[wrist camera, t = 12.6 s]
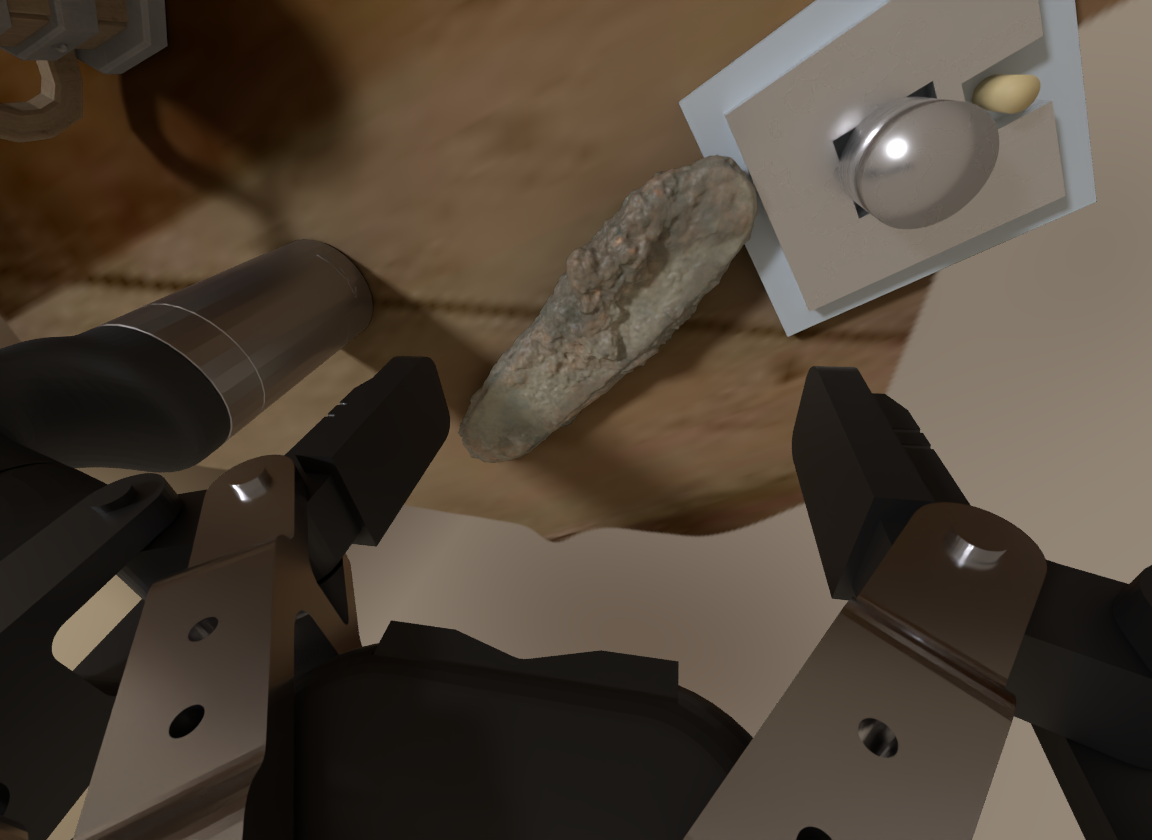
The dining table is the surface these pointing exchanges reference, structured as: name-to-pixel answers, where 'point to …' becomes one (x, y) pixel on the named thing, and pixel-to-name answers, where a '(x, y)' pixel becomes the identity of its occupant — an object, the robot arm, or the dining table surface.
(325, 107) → the dining table surface
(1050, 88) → the base plate
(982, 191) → the flange plate
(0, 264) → the dining table surface
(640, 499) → the dining table surface
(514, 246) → the dining table surface
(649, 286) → the long grey stone
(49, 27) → the tankard
